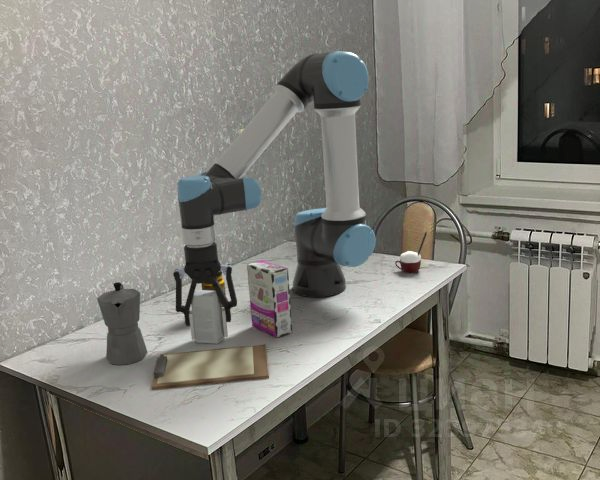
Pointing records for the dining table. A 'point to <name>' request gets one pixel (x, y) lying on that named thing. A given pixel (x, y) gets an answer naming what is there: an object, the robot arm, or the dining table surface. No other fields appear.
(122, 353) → the coffeepot
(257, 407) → the dining table surface
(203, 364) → the clipboard
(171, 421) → the dining table surface
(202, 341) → the skincare box
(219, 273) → the condiment
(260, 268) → the candy bar box
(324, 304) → the dining table surface
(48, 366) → the dining table surface
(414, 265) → the cocoa
